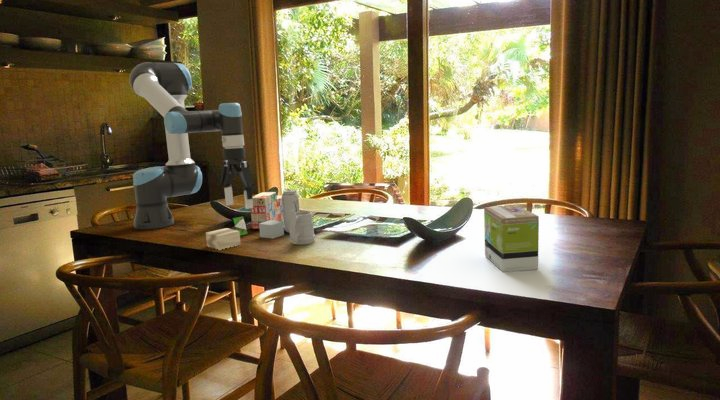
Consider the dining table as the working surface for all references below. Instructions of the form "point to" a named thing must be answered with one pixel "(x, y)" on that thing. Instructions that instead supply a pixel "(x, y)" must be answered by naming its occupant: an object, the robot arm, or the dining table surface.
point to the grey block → (271, 229)
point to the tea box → (511, 238)
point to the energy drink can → (289, 206)
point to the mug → (301, 228)
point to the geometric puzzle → (240, 225)
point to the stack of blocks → (266, 208)
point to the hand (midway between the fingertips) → (239, 206)
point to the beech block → (223, 238)
